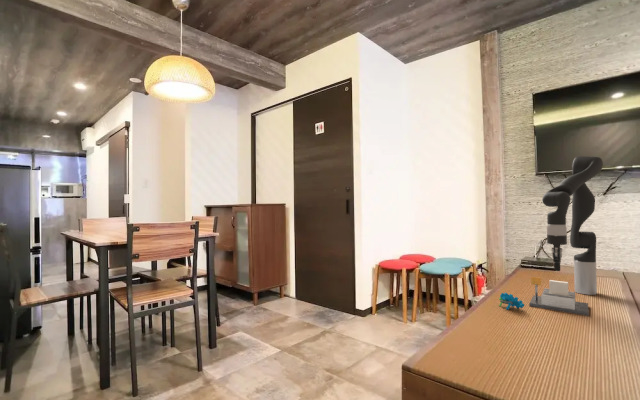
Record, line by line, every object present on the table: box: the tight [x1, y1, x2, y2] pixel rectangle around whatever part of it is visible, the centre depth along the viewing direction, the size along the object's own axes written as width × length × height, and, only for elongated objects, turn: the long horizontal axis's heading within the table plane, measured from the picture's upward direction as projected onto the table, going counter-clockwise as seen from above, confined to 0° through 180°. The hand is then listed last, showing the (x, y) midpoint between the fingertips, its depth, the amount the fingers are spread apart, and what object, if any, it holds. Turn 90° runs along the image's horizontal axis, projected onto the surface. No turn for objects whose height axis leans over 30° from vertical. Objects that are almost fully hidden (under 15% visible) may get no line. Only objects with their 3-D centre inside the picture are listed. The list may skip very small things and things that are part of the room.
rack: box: [528, 276, 590, 317], centre depth 148 cm, size 17×21×12 cm
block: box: [548, 279, 569, 296], centre depth 148 cm, size 2×7×10 cm, turn 50°
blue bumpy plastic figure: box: [498, 292, 525, 311], centre depth 144 cm, size 11×6×10 cm
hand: (557, 270), depth 148 cm, fingers closed
